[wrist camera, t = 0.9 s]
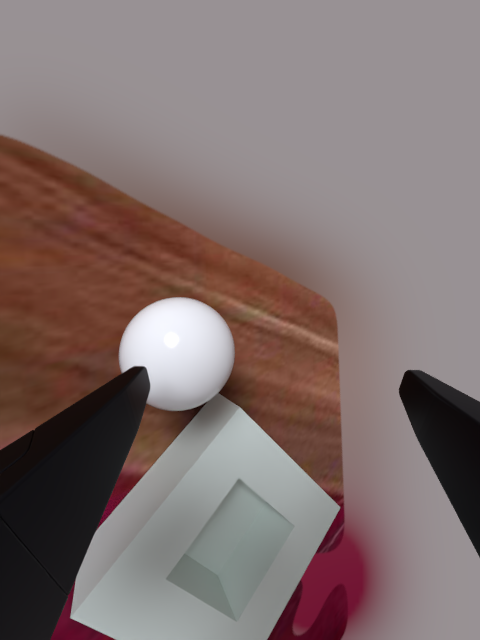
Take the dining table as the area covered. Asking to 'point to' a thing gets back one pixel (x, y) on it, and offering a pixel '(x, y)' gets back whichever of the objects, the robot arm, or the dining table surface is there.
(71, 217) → the dining table surface
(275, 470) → the socket block
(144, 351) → the lightbulb
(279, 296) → the dining table surface
